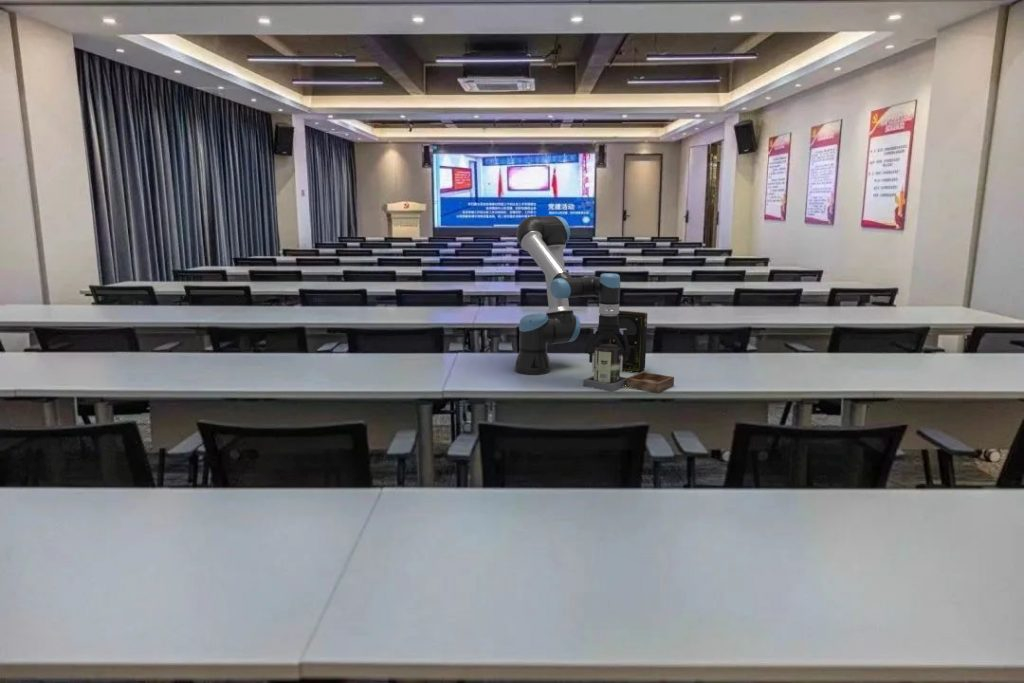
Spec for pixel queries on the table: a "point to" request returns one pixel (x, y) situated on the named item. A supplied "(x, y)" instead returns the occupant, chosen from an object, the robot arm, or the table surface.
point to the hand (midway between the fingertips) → (606, 371)
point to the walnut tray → (650, 382)
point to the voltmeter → (633, 339)
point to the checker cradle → (604, 384)
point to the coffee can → (607, 363)
